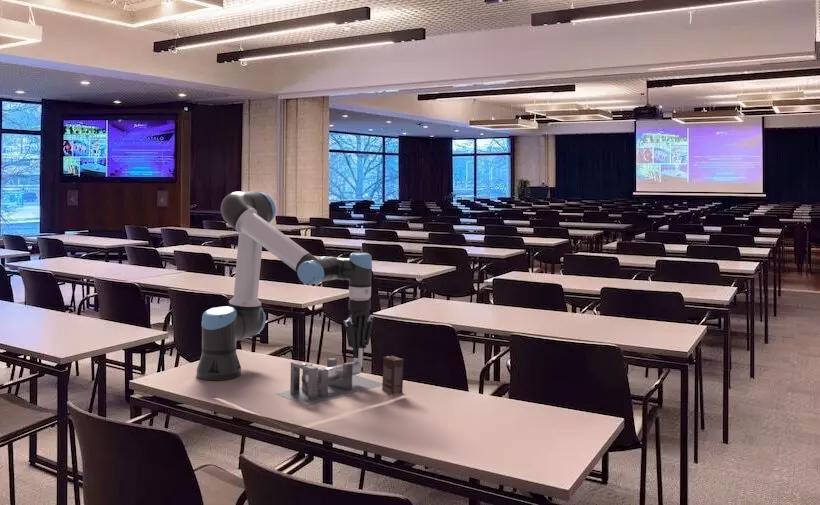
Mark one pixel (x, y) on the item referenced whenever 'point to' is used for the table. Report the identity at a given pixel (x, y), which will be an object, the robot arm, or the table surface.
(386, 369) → the box
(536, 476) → the table surface
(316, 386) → the frame
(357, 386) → the board
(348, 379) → the grey tube support frame
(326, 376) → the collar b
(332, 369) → the tube
